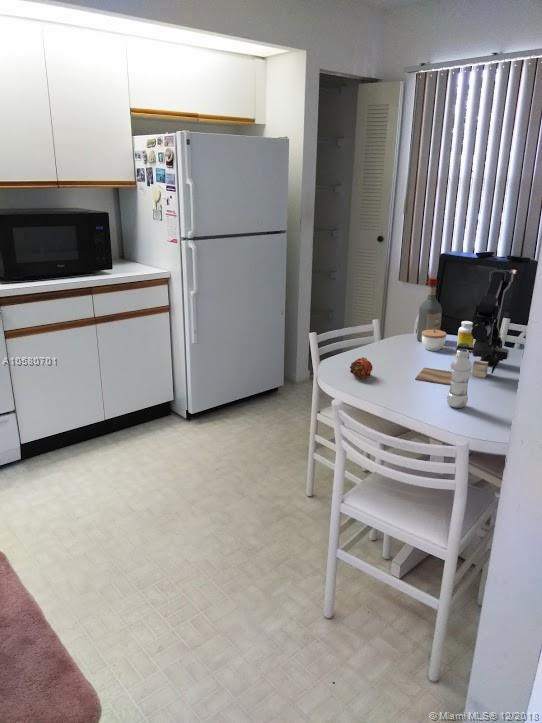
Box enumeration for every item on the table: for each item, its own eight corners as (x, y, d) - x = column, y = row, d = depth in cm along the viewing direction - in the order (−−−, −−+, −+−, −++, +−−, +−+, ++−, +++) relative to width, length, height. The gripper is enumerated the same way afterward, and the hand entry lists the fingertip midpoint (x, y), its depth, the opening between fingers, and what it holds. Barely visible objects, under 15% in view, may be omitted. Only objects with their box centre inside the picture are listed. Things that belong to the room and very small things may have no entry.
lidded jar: (416, 346, 246) (417, 327, 243) (437, 344, 248) (438, 325, 245) (428, 353, 236) (429, 333, 233) (449, 351, 238) (451, 331, 235)
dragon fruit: (358, 386, 204) (359, 379, 215) (377, 374, 202) (376, 368, 213) (345, 368, 203) (347, 362, 215) (364, 356, 201) (364, 351, 213)
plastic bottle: (443, 403, 184) (448, 348, 177) (462, 402, 184) (468, 347, 178) (450, 410, 178) (456, 353, 171) (470, 409, 178) (477, 353, 172)
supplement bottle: (473, 352, 237) (476, 324, 233) (457, 351, 238) (460, 323, 234) (470, 347, 243) (473, 320, 239) (455, 347, 244) (458, 320, 240)
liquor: (441, 341, 253) (447, 279, 243) (428, 344, 249) (433, 281, 239) (427, 337, 260) (432, 276, 251) (413, 340, 256) (418, 278, 246)
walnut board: (423, 368, 217) (424, 367, 217) (459, 374, 210) (459, 372, 210) (415, 379, 205) (415, 378, 205) (452, 385, 199) (452, 384, 199)
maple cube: (473, 372, 213) (475, 360, 211) (486, 373, 211) (488, 362, 209) (471, 375, 209) (472, 363, 207) (485, 377, 207) (486, 365, 205)
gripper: (455, 335, 202) (451, 374, 207) (508, 342, 193) (502, 382, 198) (460, 329, 211) (456, 365, 216) (511, 334, 203) (506, 373, 208)
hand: (479, 371), depth 209 cm, fingers open, 9 cm apart
